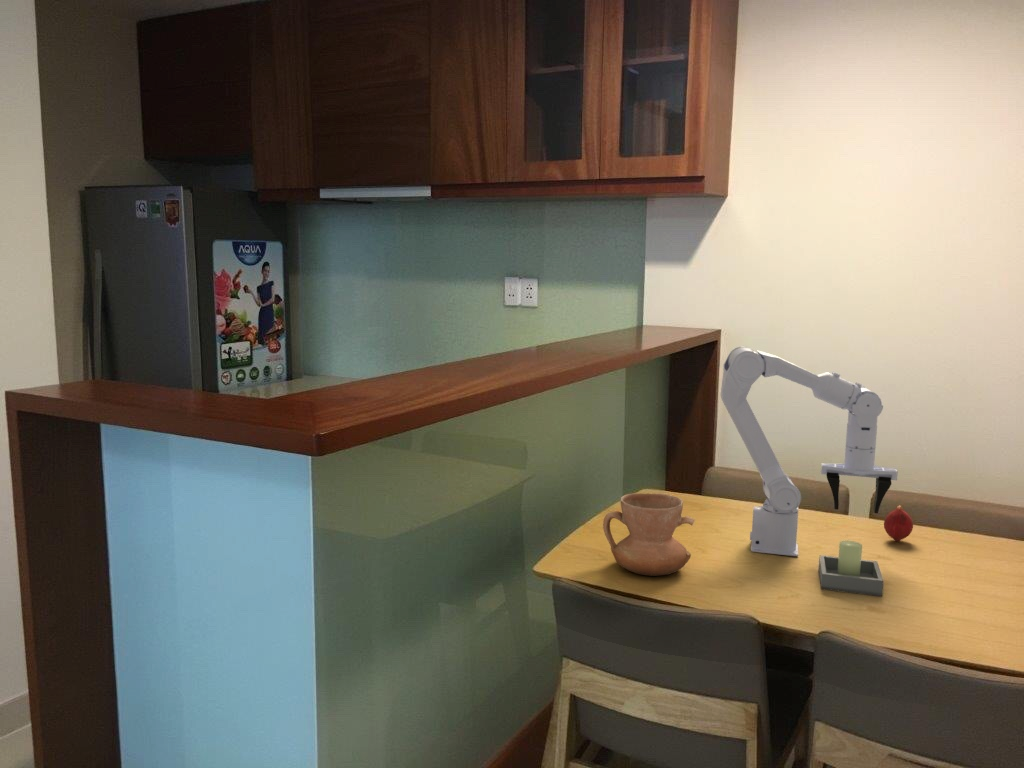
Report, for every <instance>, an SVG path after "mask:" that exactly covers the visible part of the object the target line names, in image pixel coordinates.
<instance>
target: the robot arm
mask: <svg viewBox="0 0 1024 768" xmlns="http://www.w3.org/2000/svg"><path fill="white" fill-rule="evenodd" d="M722 370H723V372H722V378H721V379H722V380H721V381H722V382H721V388H720V389H721V391H720V398H721V401H722V403H723V405H724V406H725V407H724V408H725V410H726V411H727V412H728V414H729V417H730V418H731V420H732V422H733V425H734V426H735V428H736V430H737V432H738V434H739V436H740V438H741V440H742V441H743V444H744V445H745V447H746V449H747V452H748V453H749V456H750V457H751V459H752V461H753V463H754V465H755V466H756V468H757V472H759V475H760V477H761V479H762V491H763V493H764V494H765V496H766V497H767V498H766V499H765V500H764V502H763V503H762V505H761V506H753V507H752V521H751V522H752V523H751V524H752V525H751V531H750V532H749V533H750V534H749V541H751V544H750V552H752V553H761V554H770V555H780V556H789V557H798V556H799V546H798V545H799V544H798V542H797V539H798V526H799V525H798V524H799V523H798V522H799V521H798V520H799V506H800V504H801V502H802V495H801V494H802V493H801V491H800V489H798V487H797V486H796V485H795V484H794V482H793V481H792V479H791V477H790V476H788V475H787V474H786V473H785V471H784V470H783V469H784V468H782V466H781V465H780V462H779V460H778V458H777V457H776V454H775V452H774V450H773V448H772V447H771V445H770V442H769V441H768V439H767V437H766V435H765V433H764V431H763V429H762V426H761V425H760V423H759V420H757V417H756V415H755V413H754V411H753V409H752V408H751V405H750V404H749V402H748V399H747V397H748V395H749V393H750V390H751V389H752V386H753V385H754V383H756V382H757V380H758V379H759V378H760V377H761V376H762V377H764V378H768V377H774V376H778V377H781V378H784V379H786V380H788V381H791V382H793V383H797V384H798V385H801V386H803V387H806V388H809V389H811V390H812V393H813V396H814V398H816V399H818V400H821V401H823V402H824V403H827V404H829V405H832V406H834V407H836V408H839V409H841V410H847V411H848V412H847V414H848V417H847V424H846V434H845V435H846V436H845V437H846V438H845V447H844V448H845V449H844V451H845V452H844V463H823V462H821V465H820V466H821V468H820V473H821V475H825V476H826V479H827V482H828V484H829V485H828V486H829V487H830V490H831V494H832V497H833V498H832V499H833V509H834V510H837V511H838V510H839V506H840V503H839V495H840V481H841V480H840V476H850V477H861V478H863V477H864V478H872V479H873V478H874V479H875V494H874V502H873V513H874V514H879V510H880V507H881V504H882V501H883V499H884V497H885V495H886V494H887V492H888V490H889V489H890V488H891V487H892V481H897V480H898V470H897V469H896V468H890V467H889V468H888V467H883V466H882V467H881V466H876V465H875V461H876V460H875V458H876V448H877V447H876V445H877V433H878V417H879V416H880V415H881V414H882V411H883V410H884V405H883V404H882V399H881V398H880V396H879V395H878V394H877V393H876V392H873V391H872V390H870V389H868V388H866V387H865V386H864V385H862V383H859V382H855V383H854V382H852V381H849V380H847V379H844V378H842V377H841V374H840V373H838V372H836V371H833V372H832V373H830V372H828V371H826V372H823V373H820V374H816V373H813V372H812V371H810V370H808V369H805V368H803V367H801V366H799V365H796V364H795V363H792V362H790V361H788V360H786V359H783V358H782V357H779V356H777V355H775V354H772V353H768V352H765V351H762V350H755V351H754V350H753V349H752V348H750V347H748V346H744V345H743V346H736V347H735V348H734V349H731V351H730V352H729V354H728V355H727V357H726V359H725V361H724V363H723V368H722Z"/></svg>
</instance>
